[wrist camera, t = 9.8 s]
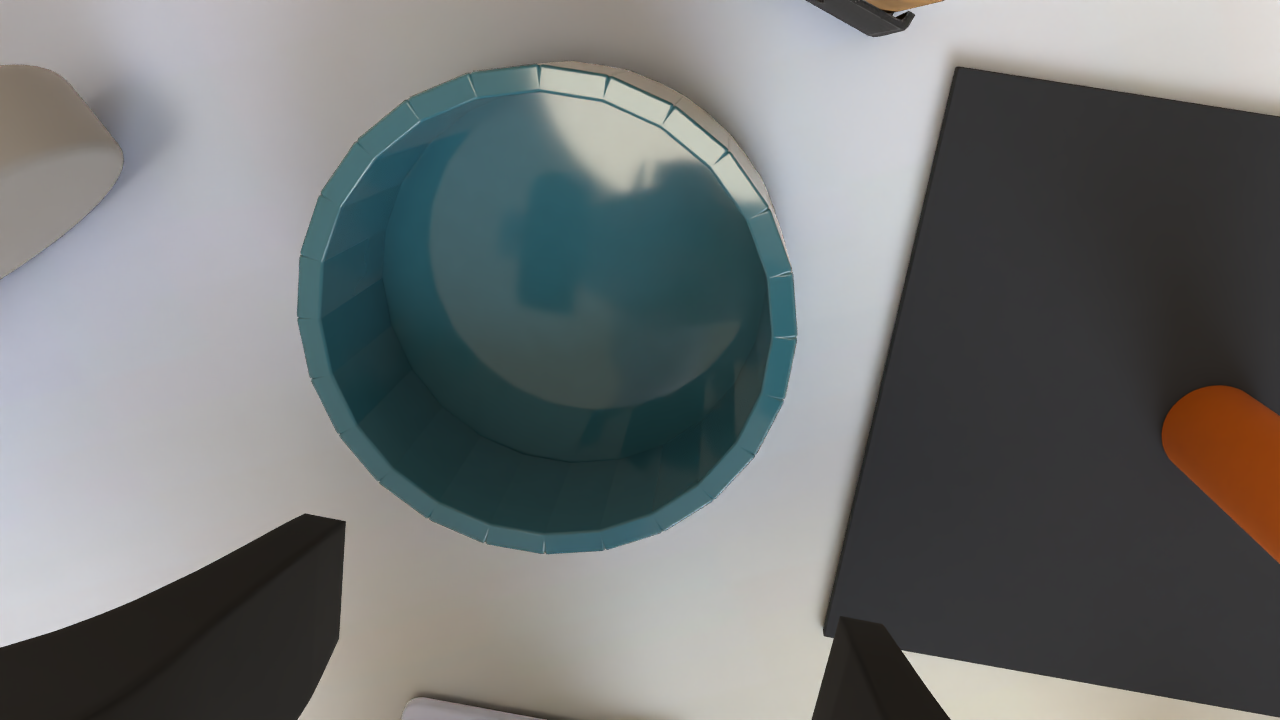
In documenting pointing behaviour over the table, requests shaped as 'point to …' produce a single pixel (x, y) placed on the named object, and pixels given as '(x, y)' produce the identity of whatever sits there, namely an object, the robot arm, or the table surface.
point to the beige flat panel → (47, 162)
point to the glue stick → (1230, 456)
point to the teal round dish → (549, 306)
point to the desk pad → (1075, 396)
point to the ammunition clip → (872, 13)
